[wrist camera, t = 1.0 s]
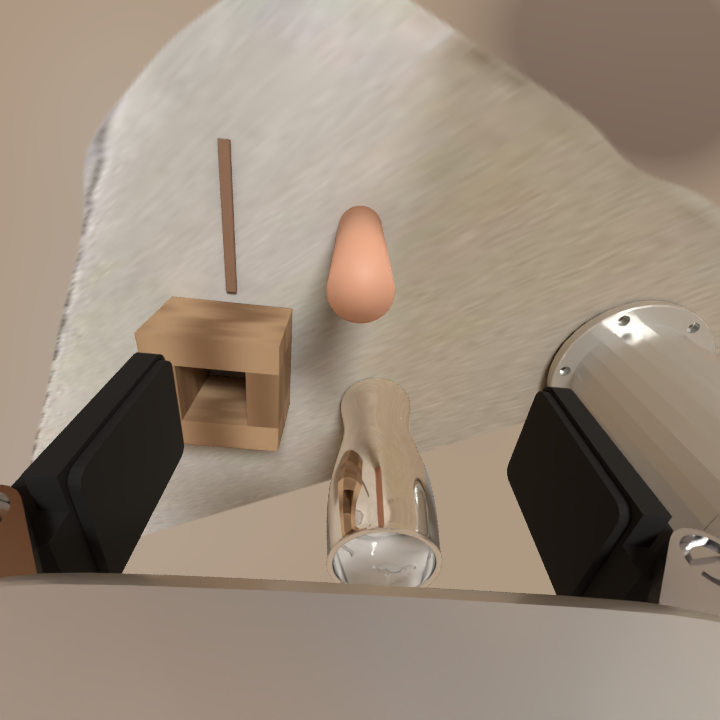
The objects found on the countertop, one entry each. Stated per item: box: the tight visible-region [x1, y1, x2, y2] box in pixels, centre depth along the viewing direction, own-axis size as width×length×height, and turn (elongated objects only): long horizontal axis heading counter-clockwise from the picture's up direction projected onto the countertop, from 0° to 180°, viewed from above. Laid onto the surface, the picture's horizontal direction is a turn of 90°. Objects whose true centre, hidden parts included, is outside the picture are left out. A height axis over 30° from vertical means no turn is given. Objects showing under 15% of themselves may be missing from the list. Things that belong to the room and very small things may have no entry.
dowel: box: [327, 206, 395, 323], centre depth 23 cm, size 3×3×12 cm
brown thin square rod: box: [218, 138, 237, 292], centre depth 28 cm, size 1×10×1 cm, turn 174°
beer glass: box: [327, 378, 442, 588], centre depth 30 cm, size 7×7×15 cm
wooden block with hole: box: [135, 297, 292, 451], centre depth 31 cm, size 9×9×6 cm
